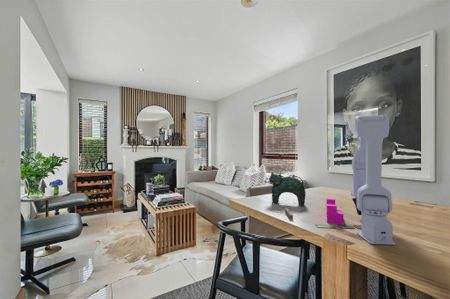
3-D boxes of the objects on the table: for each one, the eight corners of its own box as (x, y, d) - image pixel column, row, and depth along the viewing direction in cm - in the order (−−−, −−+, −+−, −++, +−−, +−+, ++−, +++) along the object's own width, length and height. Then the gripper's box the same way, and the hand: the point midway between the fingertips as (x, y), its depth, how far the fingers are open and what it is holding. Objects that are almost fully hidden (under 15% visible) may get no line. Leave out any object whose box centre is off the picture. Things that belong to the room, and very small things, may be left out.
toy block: (343, 225, 92) (343, 207, 92) (327, 222, 94) (327, 205, 94) (340, 215, 105) (340, 199, 105) (326, 213, 108) (326, 198, 108)
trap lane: (370, 229, 86) (370, 224, 86) (294, 226, 89) (294, 222, 89) (346, 213, 107) (346, 209, 107) (285, 212, 110) (285, 208, 110)
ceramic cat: (268, 203, 127) (268, 169, 127) (271, 201, 133) (271, 168, 133) (305, 207, 119) (305, 170, 119) (305, 204, 125) (305, 169, 125)
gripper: (380, 187, 91) (380, 220, 91) (361, 182, 106) (361, 210, 106) (362, 187, 92) (362, 219, 92) (346, 182, 106) (346, 210, 106)
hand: (360, 214), depth 99 cm, fingers closed
